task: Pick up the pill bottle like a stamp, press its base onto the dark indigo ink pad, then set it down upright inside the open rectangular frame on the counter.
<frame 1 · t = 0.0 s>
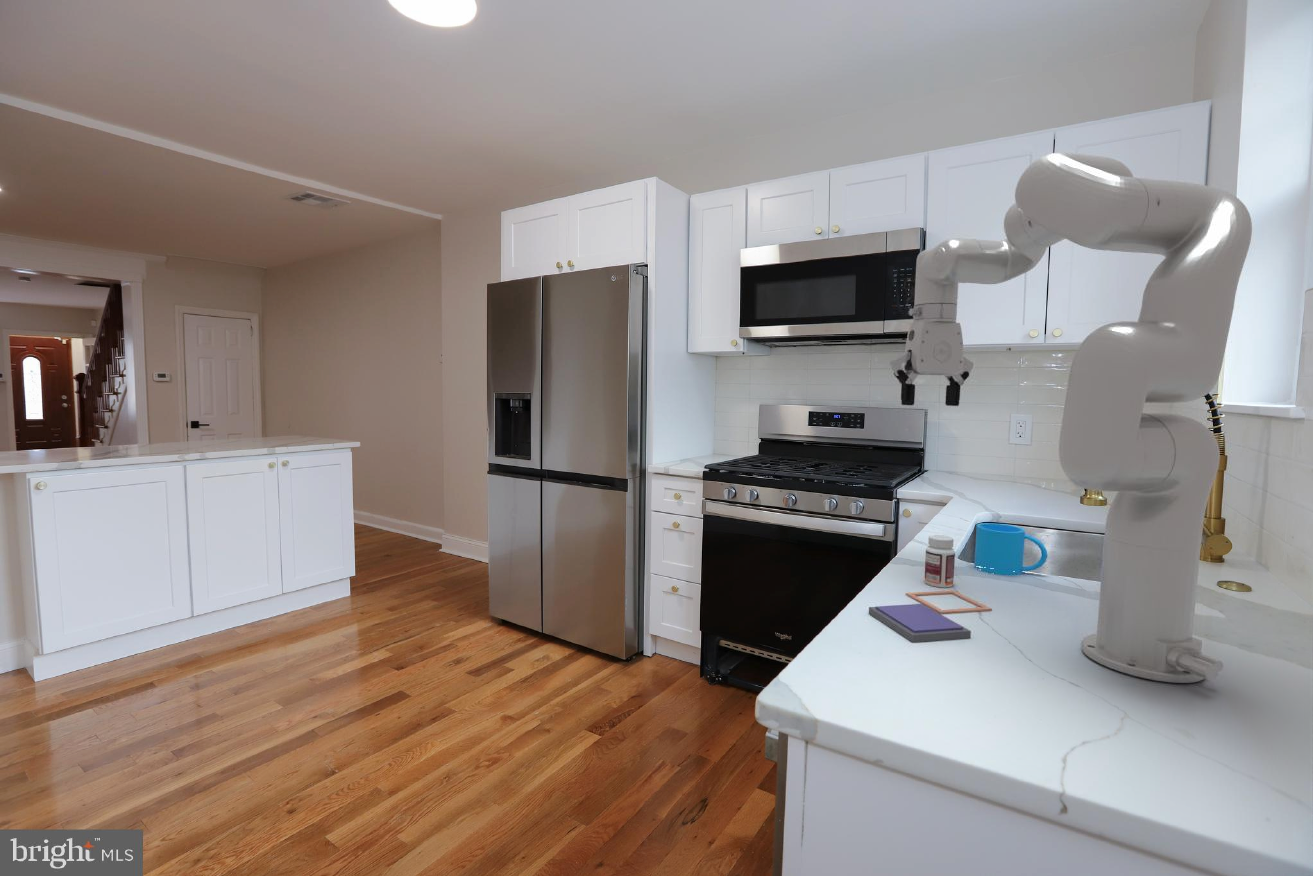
hand: (930, 405, 122), 31 cm above the worktop, fingers open, 9 cm apart
mug: (1009, 572, 120), on the worktop
pill bottle: (938, 585, 111), on the worktop
ink pad: (917, 625, 91), on the worktop
open rectangular frame: (947, 602, 102), on the worktop
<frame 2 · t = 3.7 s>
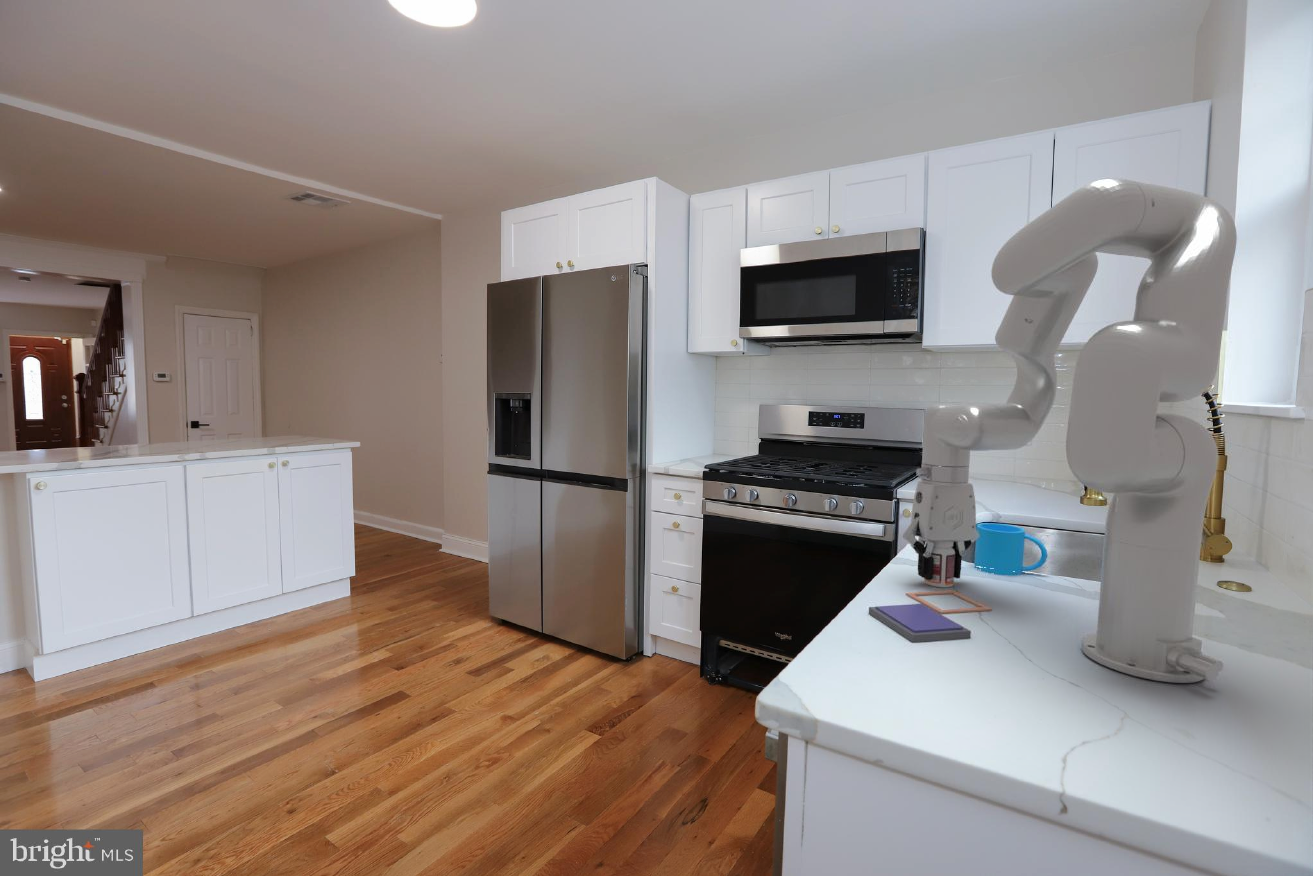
hand: (938, 575, 111), 1 cm above the worktop, fingers closed on pill bottle, 4 cm apart
pill bottle: (938, 584, 111), on the worktop, touching gripper
everything else where it was.
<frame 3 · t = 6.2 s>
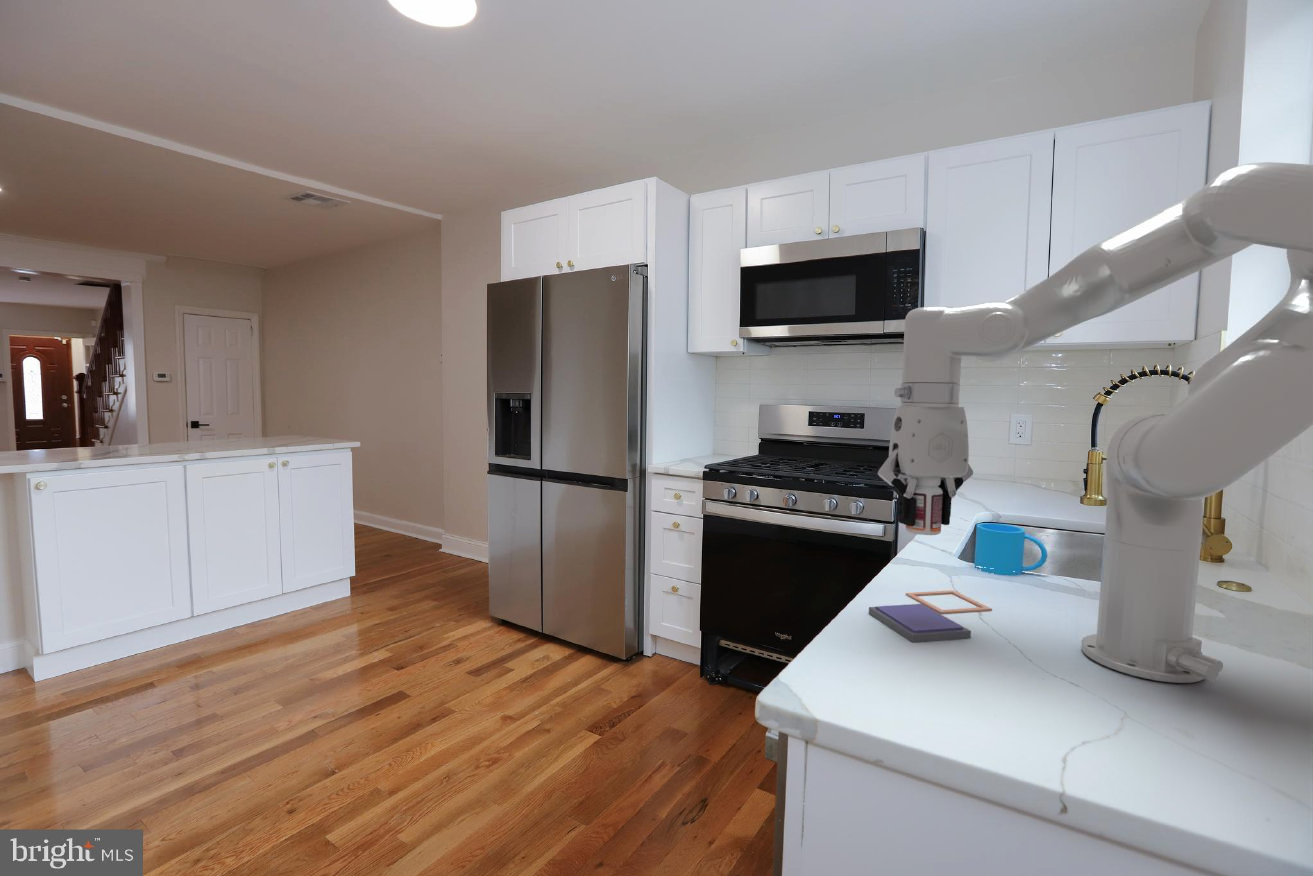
hand: (923, 522, 90), 15 cm above the worktop, fingers closed on pill bottle, 4 cm apart
pill bottle: (922, 533, 90), point 14 cm above the worktop, touching gripper
everything else where it was.
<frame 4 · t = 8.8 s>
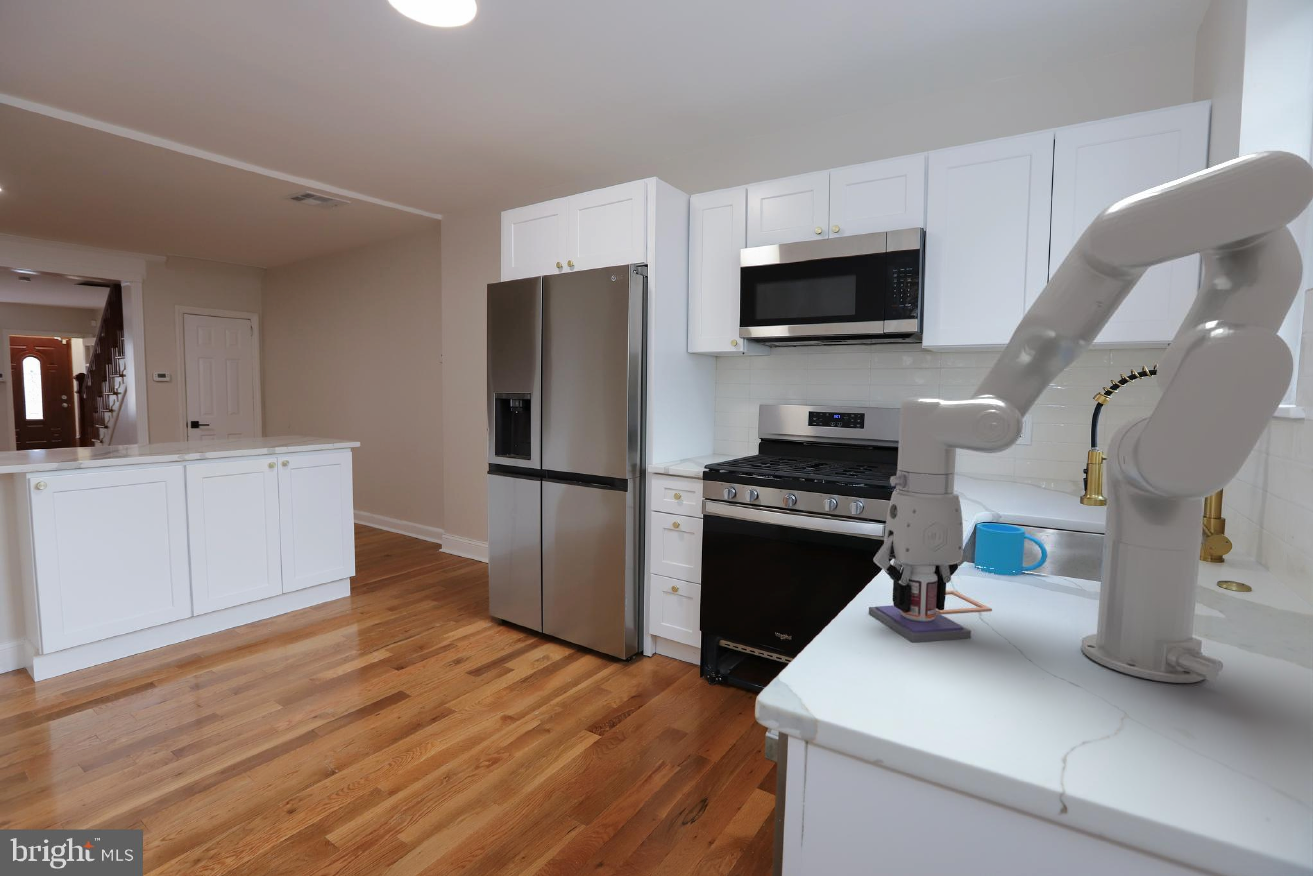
hand: (918, 607, 91), 3 cm above the worktop, fingers closed on pill bottle, 4 cm apart
pill bottle: (917, 617, 91), point 1 cm above the worktop, touching gripper, ink pad
everything else where it was.
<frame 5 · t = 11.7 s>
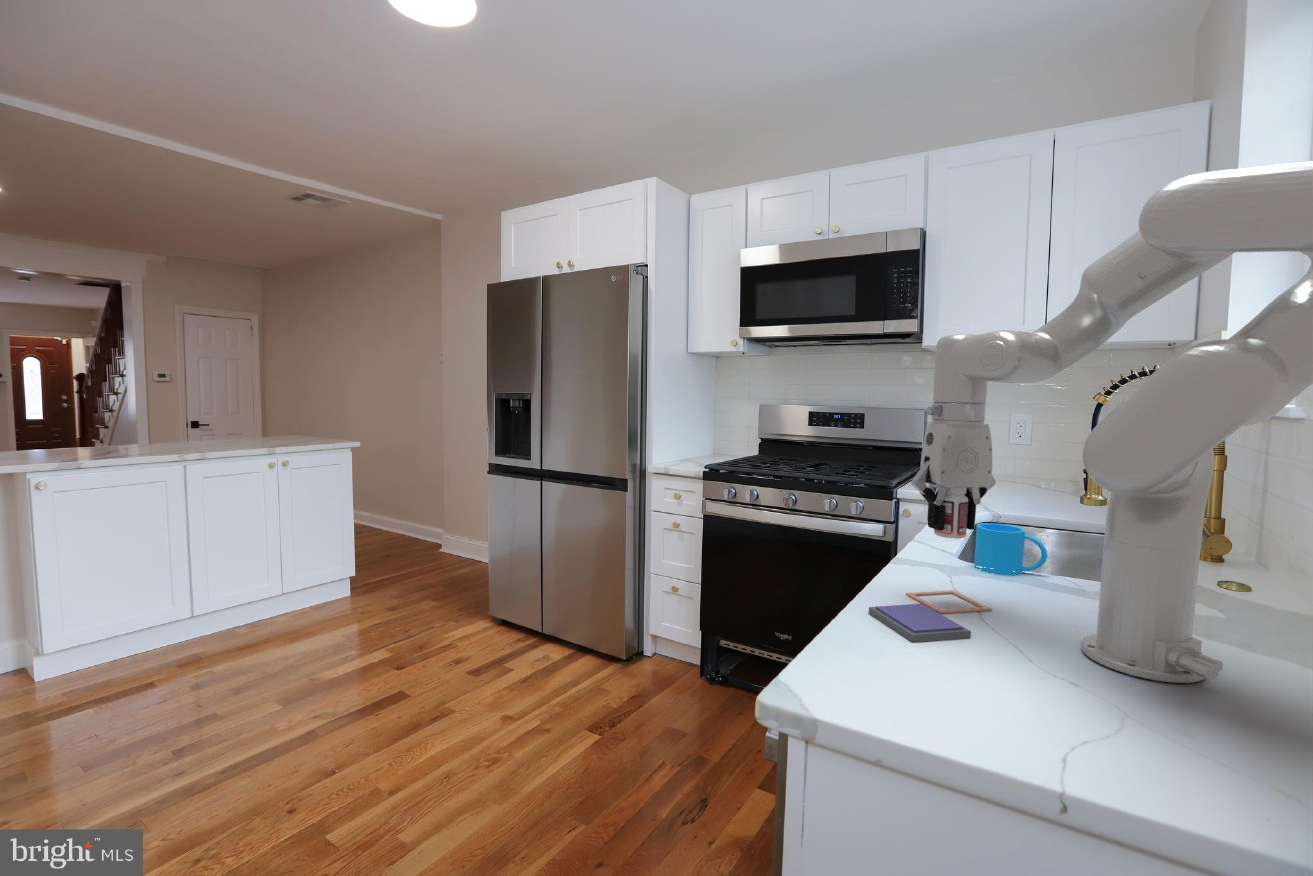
hand: (950, 527, 101), 12 cm above the worktop, fingers closed on pill bottle, 4 cm apart
pill bottle: (949, 536, 101), point 11 cm above the worktop, touching gripper
everything else where it was.
when the fingers open (2 cm above the worktop, at t = 14.2 s): pill bottle stays where it is, on the worktop.
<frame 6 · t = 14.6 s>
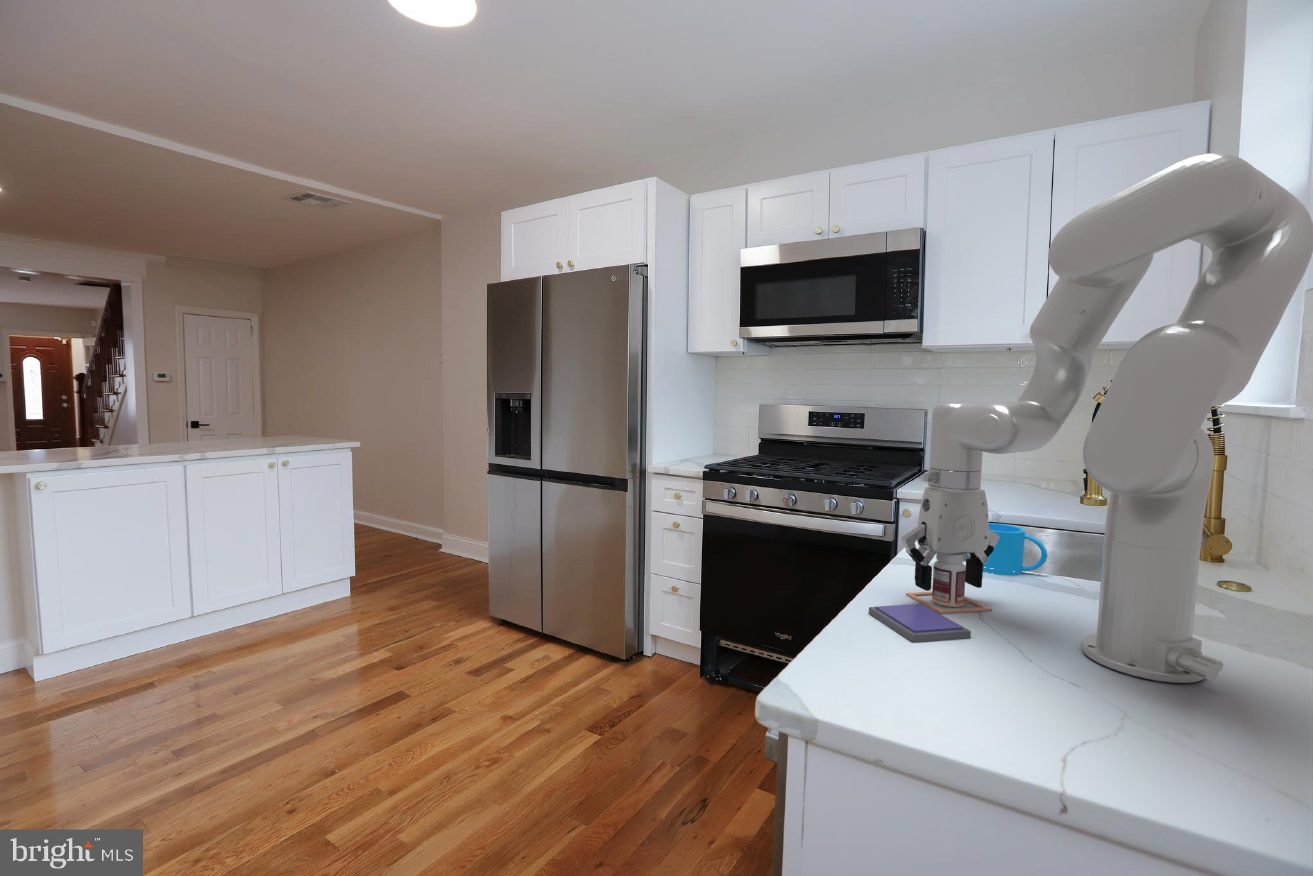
hand: (948, 586, 101), 3 cm above the worktop, fingers open, 8 cm apart
pill bottle: (947, 603, 102), on the worktop
everything else where it was.
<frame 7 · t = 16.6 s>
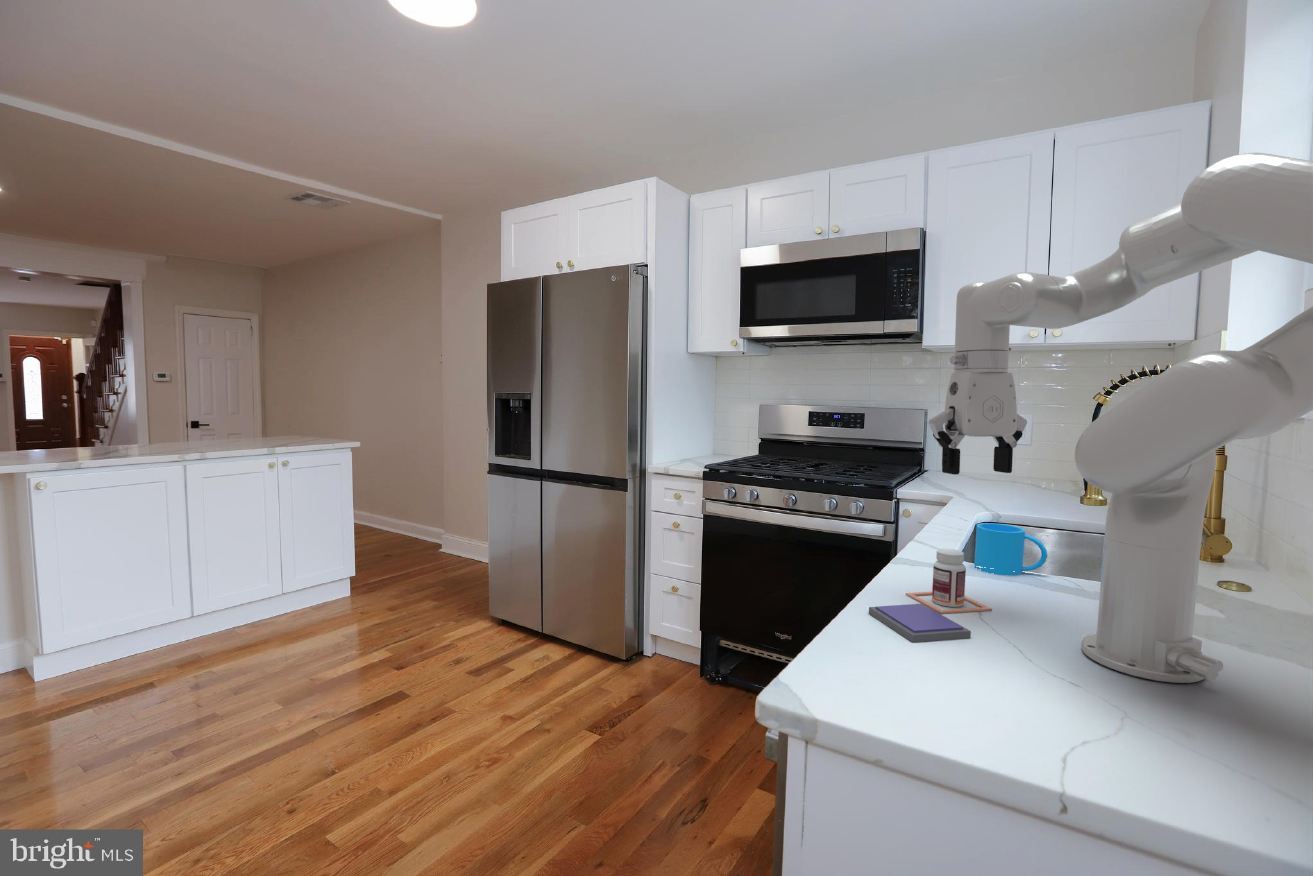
hand: (976, 472, 99), 21 cm above the worktop, fingers open, 9 cm apart
nothing on the worktop moved.
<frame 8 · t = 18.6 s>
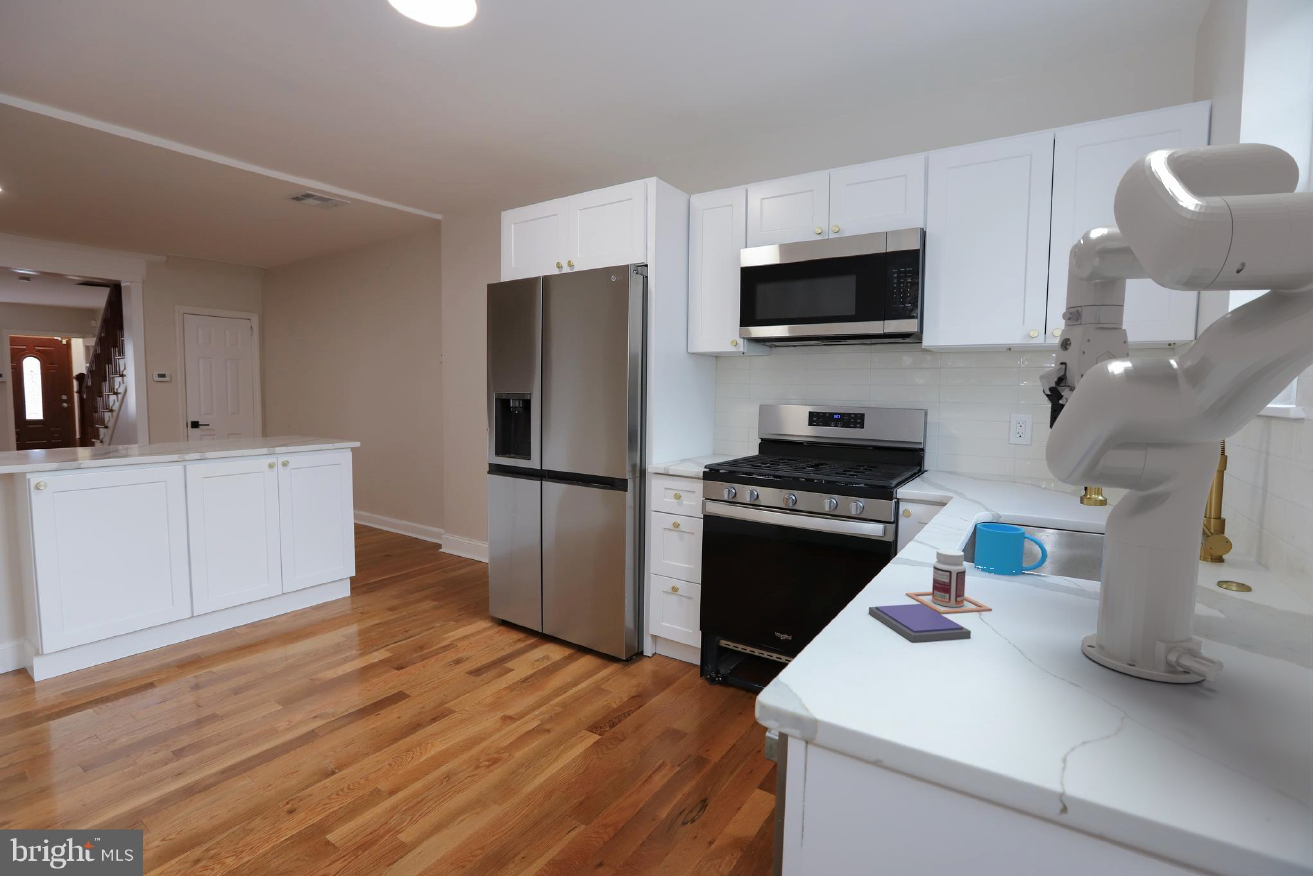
hand: (1085, 429, 100), 28 cm above the worktop, fingers open, 9 cm apart
nothing on the worktop moved.
at the end: pill bottle 0.0 cm off-centre on the open rectangular frame, point 0.0 cm above the open rectangular frame's base; pill bottle tilted 0°; the gripper is holding nothing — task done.
